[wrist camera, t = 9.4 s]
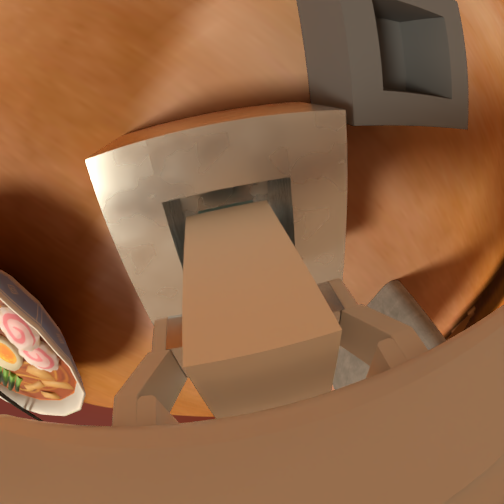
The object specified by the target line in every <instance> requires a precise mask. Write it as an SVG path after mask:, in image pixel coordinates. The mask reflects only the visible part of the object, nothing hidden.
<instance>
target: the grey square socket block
mask: <svg viewBox="0 0 504 504" xmlns="http://www.w3.org/2000/svg"><path fill="white" fill-rule="evenodd" d="M297 5H298V11H299V17H300V23H301V29H302V35H303V42H304V49H305V57H306V65H307V73H308V82H309V91H310V101H311V104H317V105H323V106H328V107H334V108H339V109H344V110H346V124H349V125H353V126H369V125H406V126H431V127H446V128H457V129H467V130H468V73H467V60H466V50H465V42H464V35H463V29H462V23H461V18H460V13H459V8H458V3H457V1H455V0H297Z"/></svg>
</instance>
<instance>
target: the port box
mask: <svg viewBox="0 0 504 504" xmlns="http://www.w3.org/2000/svg"><path fill="white" fill-rule="evenodd" d="M85 162H86V165H87V168H88V172H89V175H90V178H91V181H92V184H93V187H94V190H95V193H96V196H97V199H98V202H99V205H100V207H101V210H102V213H103V215H104V218H105V221H106V223H107V226H108V228H109V231H110V234H111V236H112V238H113V241H114V243H115V246H116V248H117V250H118V253H119V255H120V257H121V260H122V262H123V264H124V266H125V269H126V271H127V273H128V275H129V277H130V280H131V282H132V284H133V286H134V288H135V290H136V292H137V294H138V296H139V298H140V300H141V302H142V304H143V306H144V308H145V310H146V312H147V314H148V316H149V318H150V320H151V321H152V323H153V325H154V322H155V320H156V319H157V318H164V317H168V316H175V315H181V314H182V298H183V262H184V240H185V223H186V217H187V216H192V215H196V214H198V211H202V210H206V209H211V208H216V207H220V206H225V205H230V204H235V203H239V202H244V201H249V200H252V201H253V202H258V201H263V200H267V202H268V203H269V205H270V207H271V208H272V210H273V212H274V213H275V215H276V216H277V218H278V220H279V221H280V223H281V225H282V226H283V228H284V230H285V231H286V233H287V235H288V236H289V238H290V240H291V241H292V243H293V245H294V246H295V248H296V250H297V251H298V253H299V255H300V256H301V258H302V260H303V262H304V263H305V265H306V267H307V268H308V270H309V272H310V274H311V275H312V277H313V279H314V280H315V282H316V284H319V283H323V282H327V281H330V280H333V279H337V278H340V279H341V280H342V279H343V268H344V255H345V239H346V219H347V129H346V110H344V109H339V108H334V107H328V106H323V105H317V104H310V103H303V102H286V103H275V104H266V105H258V106H250V107H243V108H236V109H230V110H224V111H218V112H213V113H208V114H203V115H198V116H193V117H188V118H184V119H180V120H175V121H171V122H167V123H163V124H160V125H156V126H152V127H148V128H145V129H141V130H138V131H135V132H131V133H128V134H125V135H122V136H121V137H119V138H117V139H116V140H114V141H113V142H111V143H109V144H108V145H106V146H105V147H103V148H102V149H100V150H99V151H97V152H96V153H94V154H93V155H91V156H90V157H88V158H87V159H85Z"/></svg>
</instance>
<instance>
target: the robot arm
mask: <svg viewBox="0 0 504 504" xmlns="http://www.w3.org/2000/svg"><path fill="white" fill-rule="evenodd" d="M317 286H318V287H319V289H320V291H321V293H322V295H323V296H324V298H325V300H326V302H327V303H328V305H329V307H330V309H331V311H332V312H333V314H334V316H335V318H336V320H337V321H338V323H339V325H340V327H341V329H342V333H341V340H340V346H341V347H343V348H344V349H346V350H347V351H349V352H350V353H352V354H353V355H355V356H356V357H357V358H359V359H360V360H362V361H363V362H365V363H366V364H368V365H369V366H370V368H369V371H368V373H367V376H366V379H364V380H361V381H358V382H356V383H353V384H350V385H348V386H345V387H342V388H339V389H336V390H333V391H330V392H327V393H324V394H321V395H317V396H314V397H311V398H307V399H304V400H300V401H297V402H293V403H289V404H286V405H282V406H278V407H274V408H269V409H265V410H261V411H256V412H251V413H246V414H241V415H236V416H230V417H224V418H218V419H212V420H204V421H197V422H189V423H179V422H178V421H177V420H176V419H175V418H174V417H173V416H172V415H171V414H170V411H171V409H172V407H173V405H174V403H175V401H176V399H177V397H178V395H179V393H180V391H181V389H182V387H183V386H184V384H185V382H186V380H187V377H189V376H188V375H187V373H186V371H185V370H184V368H183V347H182V314H181V315H175V316H168V317H164V318H157V319H156V320H155V322H154V330H153V341H152V352H151V353H148V354H147V355H146V356H145V358H144V359H143V360H142V361H141V363H140V364H139V365H138V367H137V368H136V369H135V371H134V372H133V373H132V374H131V376H130V377H129V378H128V380H127V381H126V382H125V384H124V385H123V386H122V388H121V389H120V390H119V391H118V393H117V394H116V395H115V398H114V407H113V417H112V426H86V425H72V424H61V423H51V422H44V421H37V420H31V419H25V418H19V417H14V416H10V415H4V414H2V415H0V504H504V305H502V306H501V307H499V308H498V309H497V310H495V311H494V312H492V313H491V314H489V315H488V316H486V317H485V318H483V319H482V320H480V321H479V322H477V323H476V324H474V325H472V326H471V327H469V328H468V329H466V330H464V331H463V332H461V333H459V334H457V335H456V336H454V337H452V338H451V339H449V340H447V341H445V342H443V343H442V344H440V345H438V346H436V347H434V348H432V349H430V350H428V349H427V348H426V346H425V345H424V343H423V342H422V341H421V339H420V338H419V336H418V335H417V333H416V332H415V331H414V329H413V328H412V327H410V326H408V325H406V324H404V323H402V322H400V321H397V320H395V319H393V318H391V317H389V316H387V315H384V314H382V313H380V312H378V311H376V310H374V309H371V308H369V307H367V306H365V305H363V304H361V305H358V304H357V302H356V301H355V299H354V298H353V296H352V295H351V293H350V292H349V290H348V289H347V287H346V286H345V284H344V283H343V281H342V280H341V279H340V278H337V279H333V280H330V281H327V282H323V283H319V284H317Z"/></svg>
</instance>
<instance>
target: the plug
mask: <svg viewBox="0 0 504 504" xmlns="http://www.w3.org/2000/svg"><path fill="white" fill-rule="evenodd" d="M341 333H342V329H341V327H340V325H339V323H338V321H337V320H336V318H335V316H334V314H333V312H332V311H331V309H330V307H329V305H328V303H327V302H326V300H325V298H324V296H323V295H322V293H321V291H320V289H319V287H318V286H317V284H316V282H315V280H314V279H313V277H312V275H311V274H310V272H309V270H308V268H307V267H306V265H305V263H304V262H303V260H302V258H301V256H300V255H299V253H298V251H297V250H296V248H295V246H294V245H293V243H292V241H291V240H290V238H289V236H288V235H287V233H286V231H285V230H284V228H283V226H282V225H281V223H280V221H279V220H278V218H277V216H276V215H275V213H274V212H273V210H272V208H271V207H270V205H269V203H268V202H267V200H263V201H258V202H253V201H252V200H249V201H244V202H239V203H235V204H230V205H225V206H220V207H216V208H211V209H206V210H202V211H198V214H196V215H192V216H187V217H186V223H185V240H184V262H183V298H182V347H183V368H184V370H185V371H186V373H187V375H188V376H189V378H190V379H191V381H192V383H193V384H194V386H195V388H196V389H197V391H198V392H199V394H200V395H201V397H202V398H203V400H204V402H205V403H206V405H207V406H208V408H209V409H210V411H211V412H212V413H213V415H214V416H215V418H216V419H218V418H224V417H230V416H236V415H241V414H246V413H251V412H256V411H261V410H265V409H269V408H274V407H278V406H282V405H286V404H289V403H293V402H297V401H300V400H304V399H307V398H311V397H314V396H317V395H321V394H324V393H327V392H330V391H331V389H332V384H333V379H334V374H335V369H336V363H337V358H338V352H339V346H340V340H341Z"/></svg>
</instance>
